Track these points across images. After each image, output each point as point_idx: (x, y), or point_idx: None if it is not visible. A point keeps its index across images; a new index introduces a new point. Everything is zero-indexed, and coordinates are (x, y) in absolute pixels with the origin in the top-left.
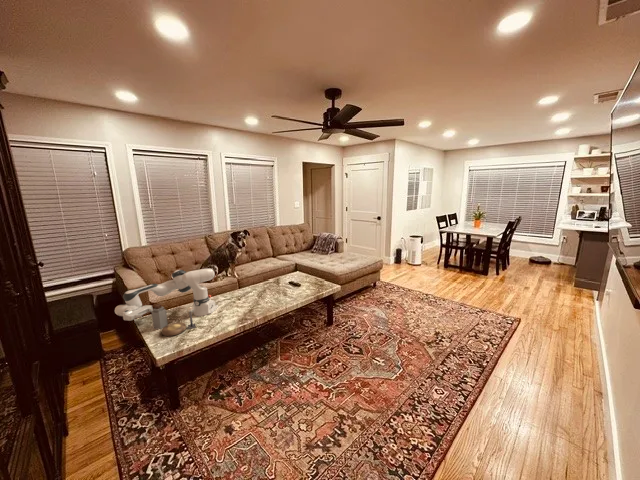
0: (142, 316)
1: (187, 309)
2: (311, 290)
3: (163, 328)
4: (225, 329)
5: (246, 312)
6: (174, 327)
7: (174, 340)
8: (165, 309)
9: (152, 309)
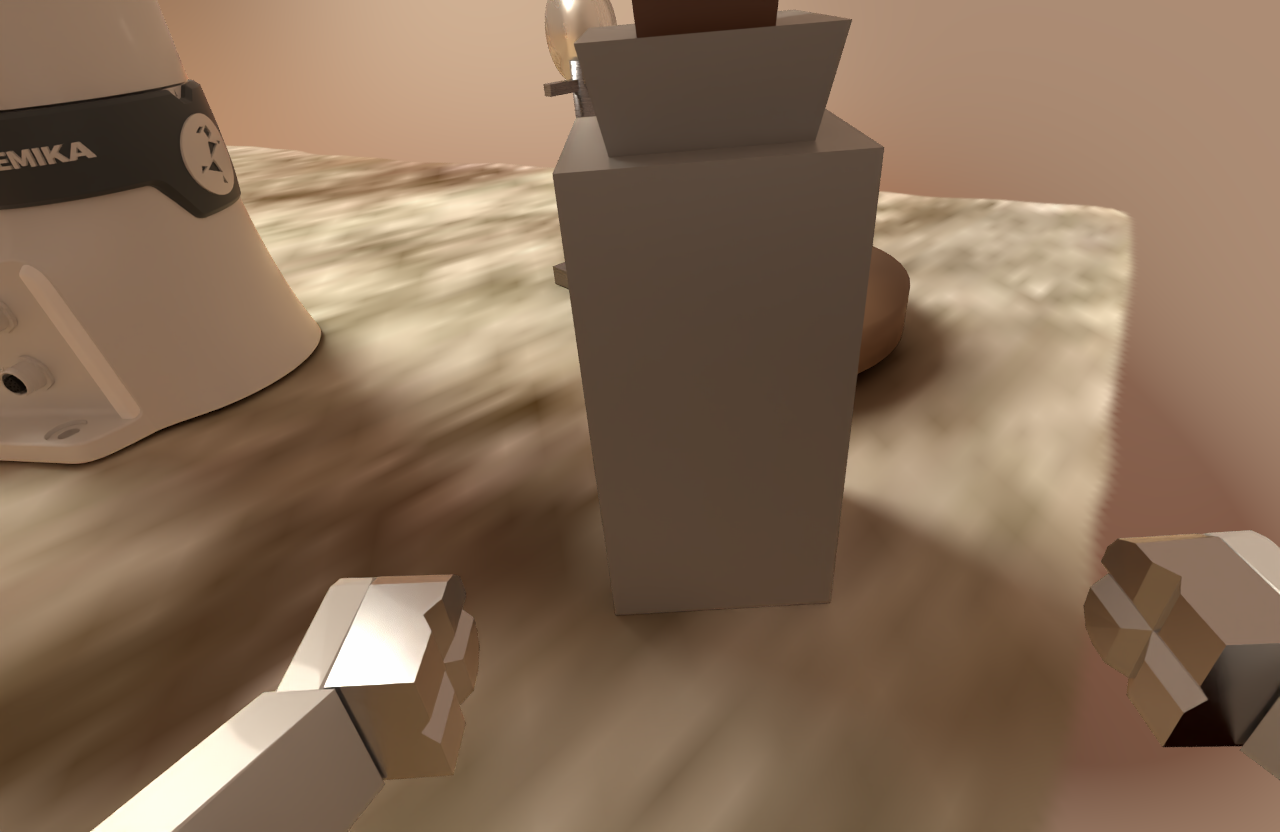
0: (1112, 597)
1: (607, 11)
2: None
3: None
4: None
5: (317, 198)
6: None
7: None
8: (586, 119)
9: (340, 586)
